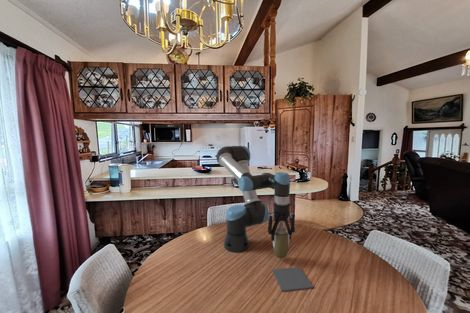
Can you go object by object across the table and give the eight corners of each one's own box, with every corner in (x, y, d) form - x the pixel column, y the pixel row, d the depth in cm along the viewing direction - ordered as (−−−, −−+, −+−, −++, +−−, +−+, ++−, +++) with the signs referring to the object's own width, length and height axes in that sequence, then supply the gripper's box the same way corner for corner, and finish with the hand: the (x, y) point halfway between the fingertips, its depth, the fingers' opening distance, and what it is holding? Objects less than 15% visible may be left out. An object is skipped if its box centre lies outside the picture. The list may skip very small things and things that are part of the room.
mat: (282, 291, 90) (282, 290, 90) (272, 270, 104) (272, 269, 104) (313, 288, 92) (313, 286, 92) (299, 267, 106) (299, 266, 106)
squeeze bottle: (289, 252, 114) (290, 220, 112) (287, 261, 107) (288, 227, 105) (274, 249, 117) (274, 218, 115) (271, 258, 110) (272, 224, 107)
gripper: (265, 206, 104) (264, 251, 106) (303, 204, 106) (301, 248, 109) (261, 201, 111) (261, 243, 114) (296, 199, 114) (295, 240, 116)
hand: (280, 245), depth 111 cm, fingers closed on squeeze bottle, 6 cm apart
